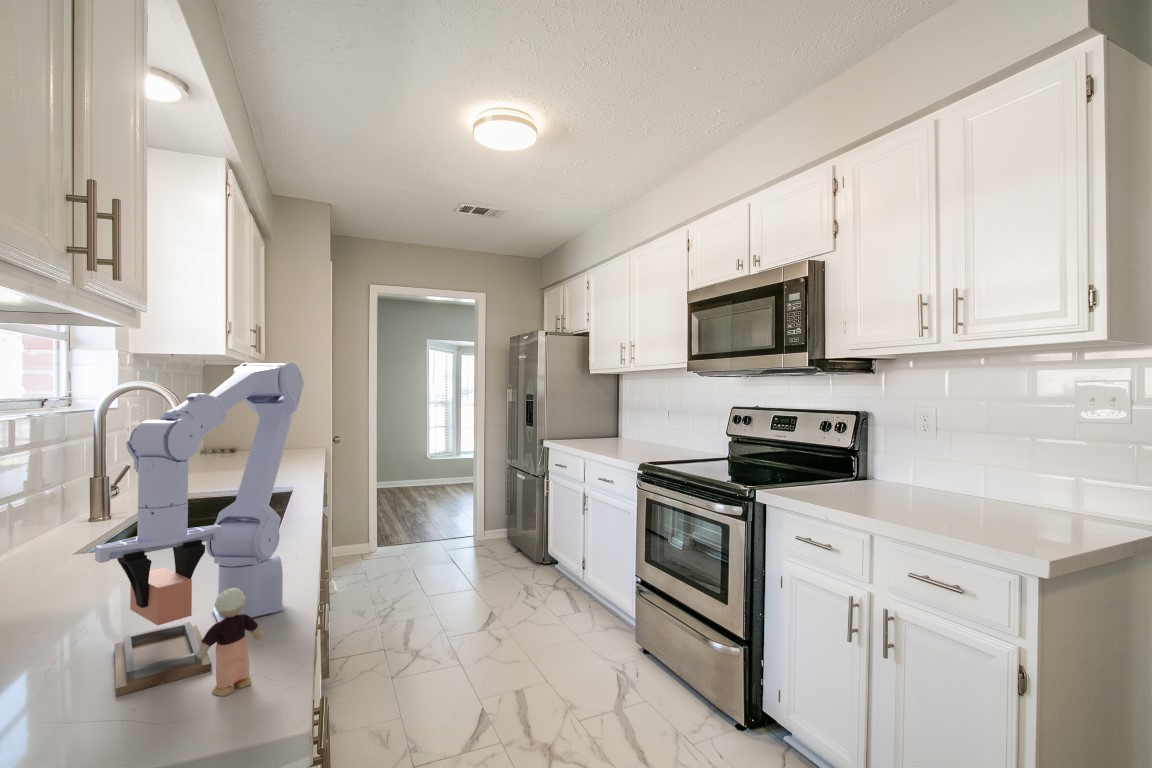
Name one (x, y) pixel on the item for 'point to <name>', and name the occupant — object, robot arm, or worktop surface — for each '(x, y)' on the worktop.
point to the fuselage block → (165, 597)
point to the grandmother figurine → (230, 642)
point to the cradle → (158, 657)
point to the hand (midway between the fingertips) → (162, 600)
